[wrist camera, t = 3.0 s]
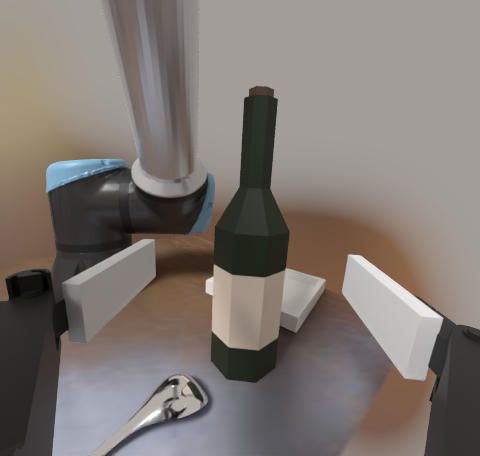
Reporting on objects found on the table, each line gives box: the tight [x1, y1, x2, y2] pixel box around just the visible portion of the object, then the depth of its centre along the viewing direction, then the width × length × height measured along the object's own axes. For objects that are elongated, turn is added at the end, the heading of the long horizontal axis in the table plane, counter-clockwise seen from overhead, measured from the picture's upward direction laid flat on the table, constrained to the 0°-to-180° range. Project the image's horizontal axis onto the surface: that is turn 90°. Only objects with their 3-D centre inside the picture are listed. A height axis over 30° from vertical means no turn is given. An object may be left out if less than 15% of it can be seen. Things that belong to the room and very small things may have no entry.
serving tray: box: [206, 268, 326, 333], centre depth 43 cm, size 18×16×2 cm
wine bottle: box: [211, 86, 289, 383], centre depth 25 cm, size 8×8×30 cm
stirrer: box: [88, 373, 208, 456], centre depth 17 cm, size 20×4×5 cm
